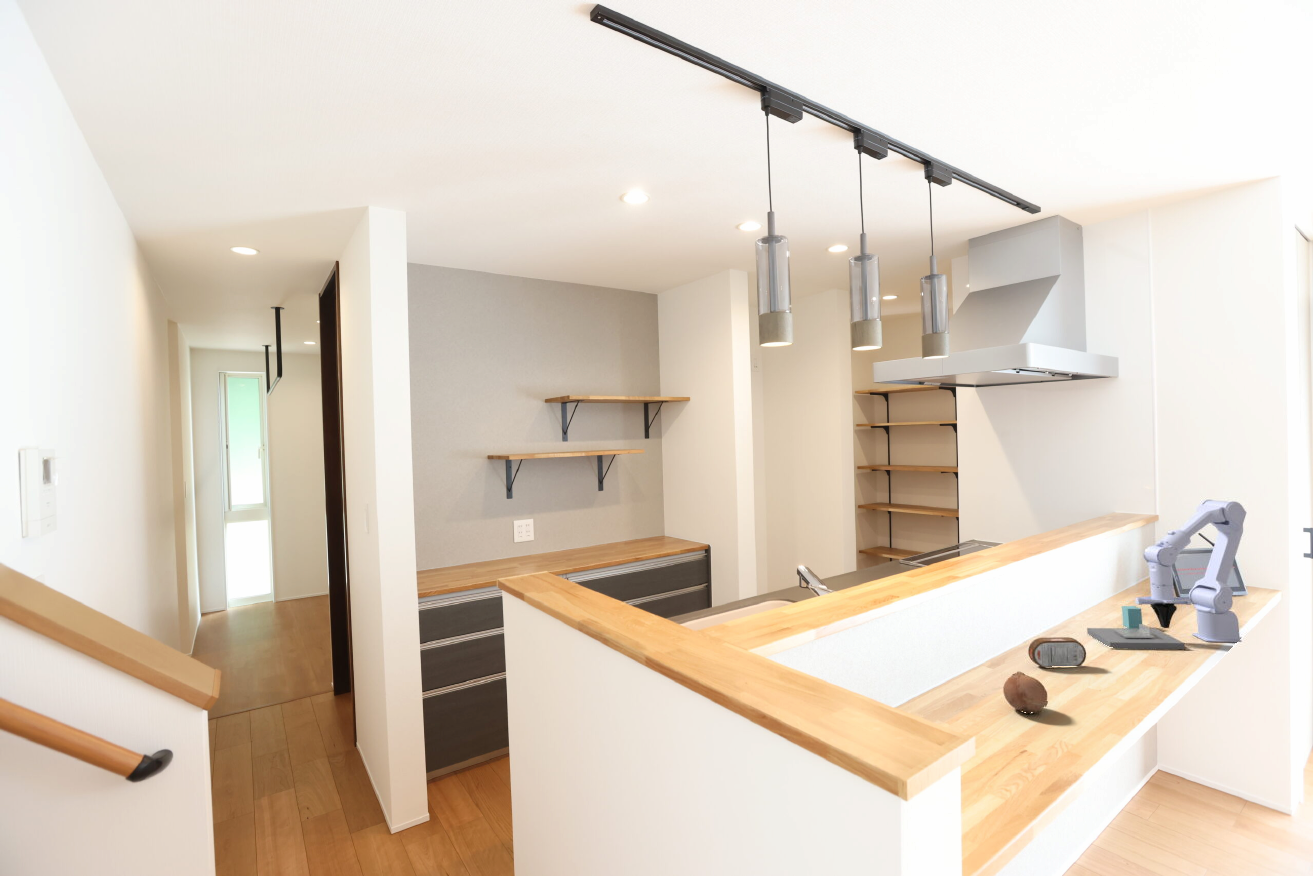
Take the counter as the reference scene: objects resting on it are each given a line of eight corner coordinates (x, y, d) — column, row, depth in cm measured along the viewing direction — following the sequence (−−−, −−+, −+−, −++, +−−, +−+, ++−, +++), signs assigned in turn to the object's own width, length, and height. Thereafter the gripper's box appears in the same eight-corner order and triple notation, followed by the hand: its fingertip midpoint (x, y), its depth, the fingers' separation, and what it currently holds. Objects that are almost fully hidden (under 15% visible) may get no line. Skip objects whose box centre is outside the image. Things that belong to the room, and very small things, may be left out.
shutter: (1140, 630, 205) (1140, 623, 205) (1154, 638, 197) (1153, 630, 197) (1113, 630, 206) (1112, 623, 206) (1125, 637, 199) (1124, 629, 199)
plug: (1136, 626, 217) (1135, 606, 217) (1142, 629, 213) (1141, 608, 213) (1123, 626, 218) (1121, 606, 218) (1129, 629, 214) (1127, 608, 214)
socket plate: (1155, 634, 207) (1155, 628, 207) (1184, 649, 191) (1184, 643, 192) (1087, 634, 211) (1087, 628, 212) (1110, 648, 196) (1110, 642, 196)
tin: (1082, 665, 184) (1080, 636, 184) (1089, 668, 181) (1086, 639, 181) (1028, 666, 185) (1026, 637, 186) (1033, 669, 182) (1031, 640, 182)
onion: (1016, 717, 159) (1005, 675, 163) (1057, 714, 153) (1045, 671, 158) (1003, 715, 153) (992, 671, 157) (1046, 712, 147) (1033, 667, 152)
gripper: (1142, 586, 198) (1145, 630, 197) (1195, 586, 195) (1199, 631, 194) (1130, 582, 205) (1133, 624, 204) (1182, 582, 201) (1185, 624, 201)
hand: (1164, 627), depth 200 cm, fingers closed
